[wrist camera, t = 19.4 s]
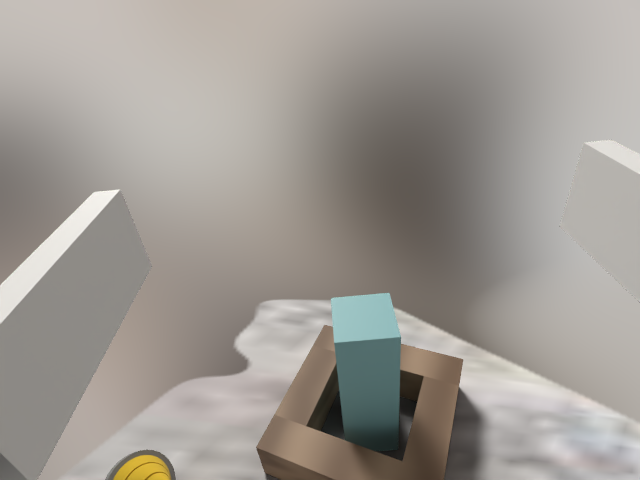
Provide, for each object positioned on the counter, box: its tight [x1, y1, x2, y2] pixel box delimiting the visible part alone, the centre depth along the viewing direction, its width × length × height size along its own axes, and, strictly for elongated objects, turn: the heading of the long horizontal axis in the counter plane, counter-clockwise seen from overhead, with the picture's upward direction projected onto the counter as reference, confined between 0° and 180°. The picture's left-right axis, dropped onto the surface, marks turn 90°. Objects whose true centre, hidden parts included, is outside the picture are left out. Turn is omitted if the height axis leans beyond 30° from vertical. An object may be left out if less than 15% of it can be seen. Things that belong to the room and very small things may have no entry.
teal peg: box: [331, 293, 401, 451], centre depth 32 cm, size 4×4×14 cm
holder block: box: [256, 325, 463, 480], centre depth 35 cm, size 14×14×4 cm
